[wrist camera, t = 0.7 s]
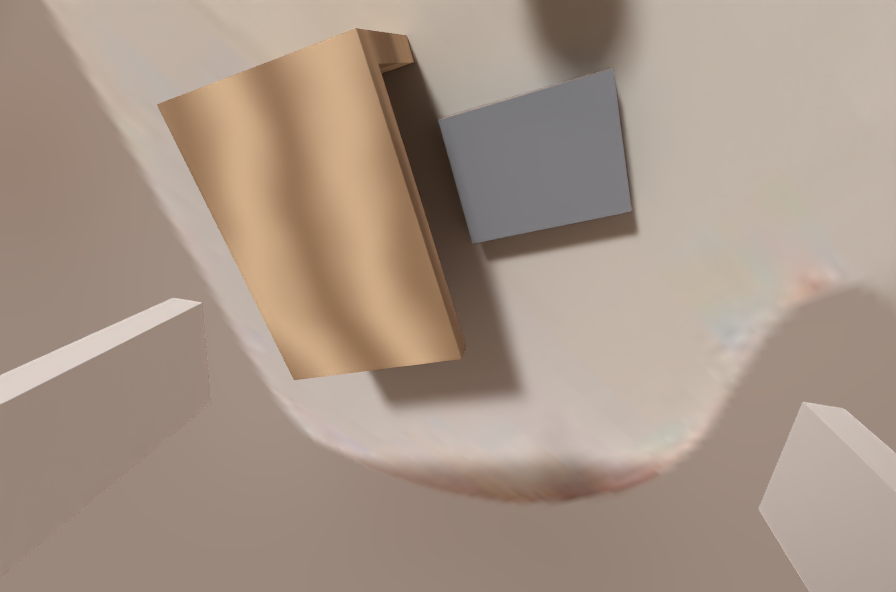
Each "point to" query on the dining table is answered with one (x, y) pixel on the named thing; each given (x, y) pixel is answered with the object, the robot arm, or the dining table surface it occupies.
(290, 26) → the dining table surface
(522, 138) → the slate board
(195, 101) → the oak shelf
